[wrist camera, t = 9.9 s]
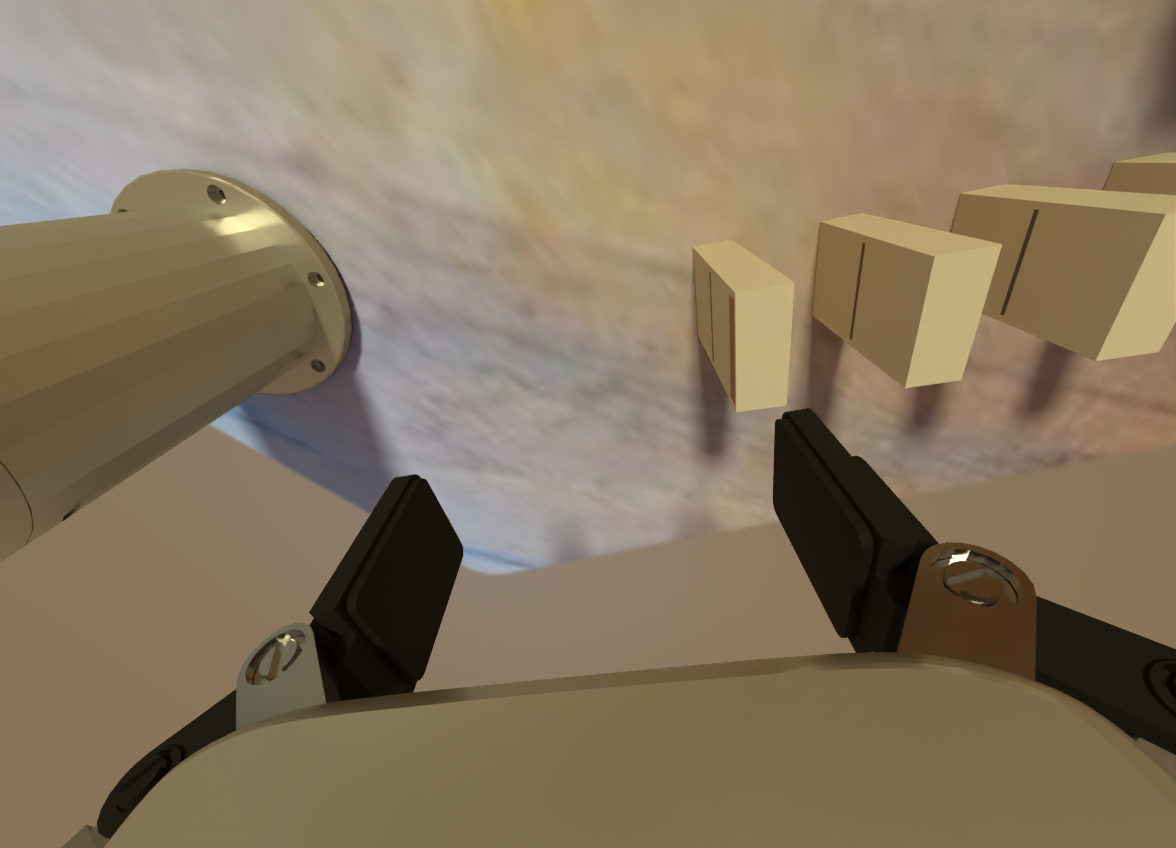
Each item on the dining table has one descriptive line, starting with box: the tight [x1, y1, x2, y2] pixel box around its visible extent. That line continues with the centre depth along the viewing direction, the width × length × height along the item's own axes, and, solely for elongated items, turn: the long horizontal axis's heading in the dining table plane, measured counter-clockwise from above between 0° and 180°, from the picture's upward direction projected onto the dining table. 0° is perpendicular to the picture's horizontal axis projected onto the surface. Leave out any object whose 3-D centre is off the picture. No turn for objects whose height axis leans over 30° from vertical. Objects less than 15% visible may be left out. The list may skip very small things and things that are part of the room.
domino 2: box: [812, 213, 1002, 388], centre depth 19 cm, size 2×5×9 cm, turn 11°
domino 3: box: [951, 184, 1176, 361], centre depth 18 cm, size 2×5×9 cm, turn 11°
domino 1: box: [693, 240, 794, 412], centre depth 20 cm, size 2×5×9 cm, turn 11°
